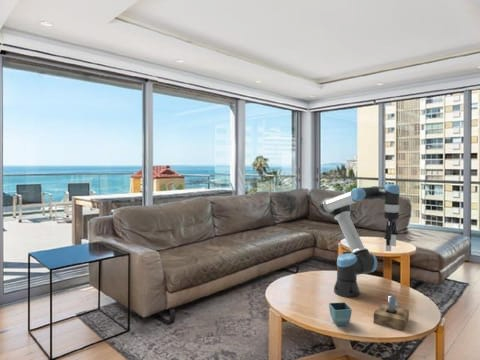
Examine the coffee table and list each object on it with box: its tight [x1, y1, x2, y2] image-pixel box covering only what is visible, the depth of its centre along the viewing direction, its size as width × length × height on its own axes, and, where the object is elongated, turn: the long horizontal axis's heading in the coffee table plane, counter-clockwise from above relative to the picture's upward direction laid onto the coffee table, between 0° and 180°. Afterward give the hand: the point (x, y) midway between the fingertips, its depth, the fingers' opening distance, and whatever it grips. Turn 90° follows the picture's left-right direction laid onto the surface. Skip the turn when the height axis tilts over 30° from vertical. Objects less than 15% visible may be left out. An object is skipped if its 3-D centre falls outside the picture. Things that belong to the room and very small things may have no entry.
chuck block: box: [373, 300, 410, 331], centre depth 175 cm, size 14×26×5 cm, turn 145°
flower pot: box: [328, 301, 352, 327], centre depth 167 cm, size 9×9×9 cm
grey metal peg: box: [387, 294, 396, 314], centre depth 169 cm, size 3×3×13 cm
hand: (390, 248), depth 190 cm, fingers open, 13 cm apart
